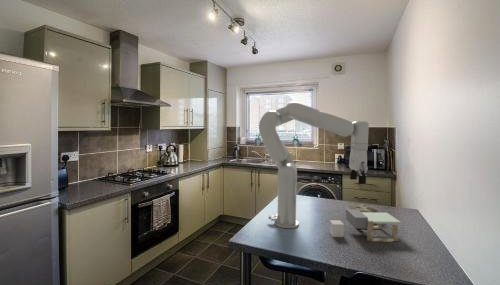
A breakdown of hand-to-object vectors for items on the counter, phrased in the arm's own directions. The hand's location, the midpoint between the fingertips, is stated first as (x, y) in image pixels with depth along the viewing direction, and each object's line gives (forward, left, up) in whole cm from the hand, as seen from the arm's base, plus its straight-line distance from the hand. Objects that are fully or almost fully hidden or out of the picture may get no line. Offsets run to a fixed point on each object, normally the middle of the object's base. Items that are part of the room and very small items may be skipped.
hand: (357, 181), depth 123 cm
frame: (+7, -5, -24) cm, 26 cm away
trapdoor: (+5, -5, -19) cm, 20 cm away
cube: (-11, -6, -24) cm, 27 cm away
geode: (+11, +16, -25) cm, 31 cm away
